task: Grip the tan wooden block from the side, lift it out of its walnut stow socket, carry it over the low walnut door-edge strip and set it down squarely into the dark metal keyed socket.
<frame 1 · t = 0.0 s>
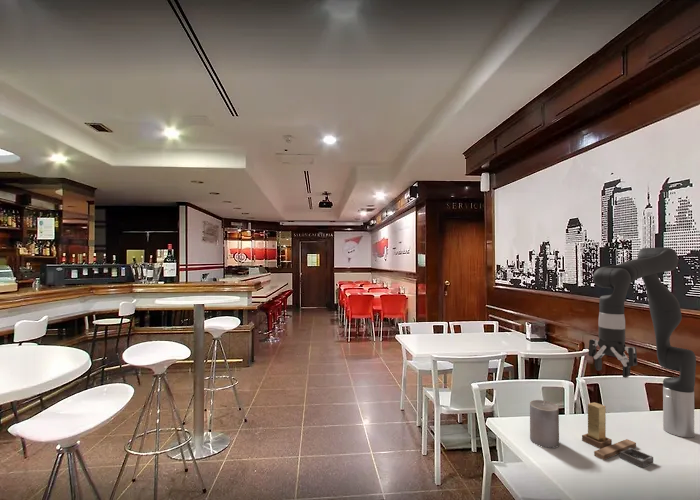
hand: (611, 373, 127), 29 cm above the table, tool pointing down, fingers open, 8 cm apart
pillar candle: (544, 442, 138), on the table
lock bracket: (615, 451, 132), on the table
tan wooden block: (596, 442, 137), resting in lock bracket
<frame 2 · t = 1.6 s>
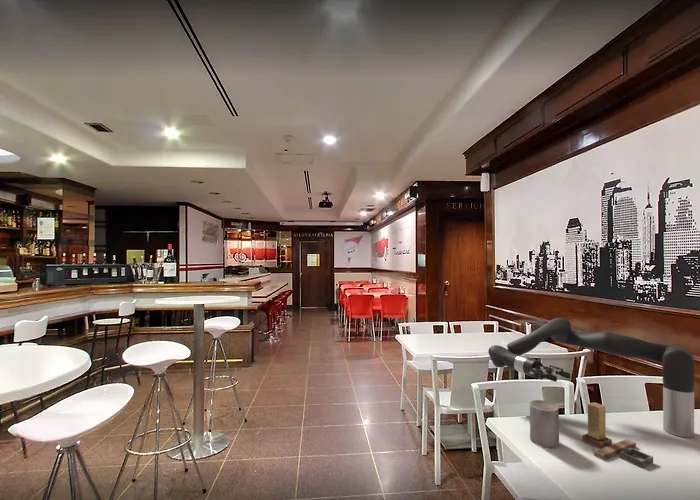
hand: (563, 377, 149), 20 cm above the table, tool horizontal, fingers open, 8 cm apart
nothing on the table moved.
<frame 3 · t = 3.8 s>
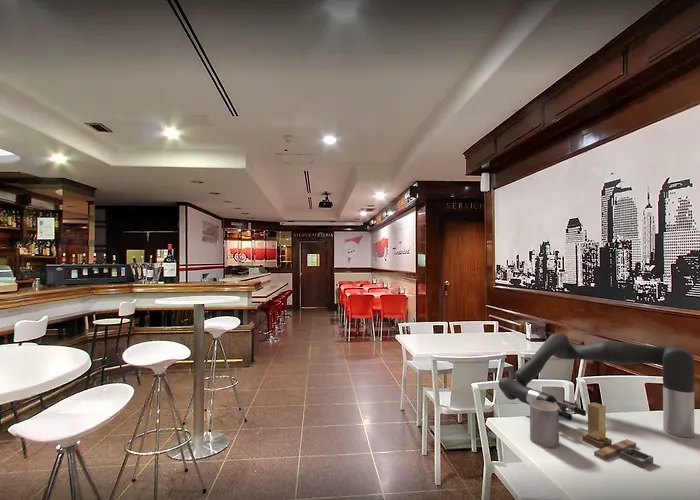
hand: (578, 415, 144), 7 cm above the table, tool horizontal, fingers open, 8 cm apart
nothing on the table moved.
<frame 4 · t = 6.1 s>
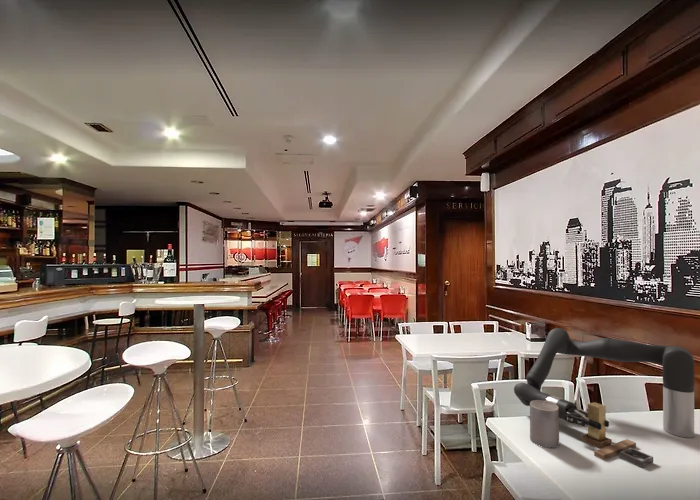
hand: (604, 425, 135), 8 cm above the table, tool horizontal, fingers closed on tan wooden block, 4 cm apart
tan wooden block: (596, 442, 137), resting in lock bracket, touching gripper
everything else where it was.
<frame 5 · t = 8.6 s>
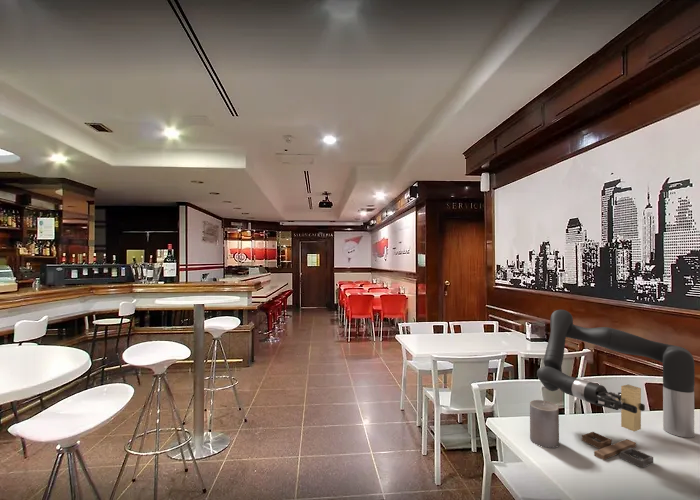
hand: (640, 409, 125), 18 cm above the table, tool horizontal, fingers closed on tan wooden block, 4 cm apart
tan wooden block: (630, 427, 127), point 10 cm above the table, touching gripper
everything else where it was.
when the fingers open (9 cm above the table, at t = 11.3 s): tan wooden block drops 1 cm, resting in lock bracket.
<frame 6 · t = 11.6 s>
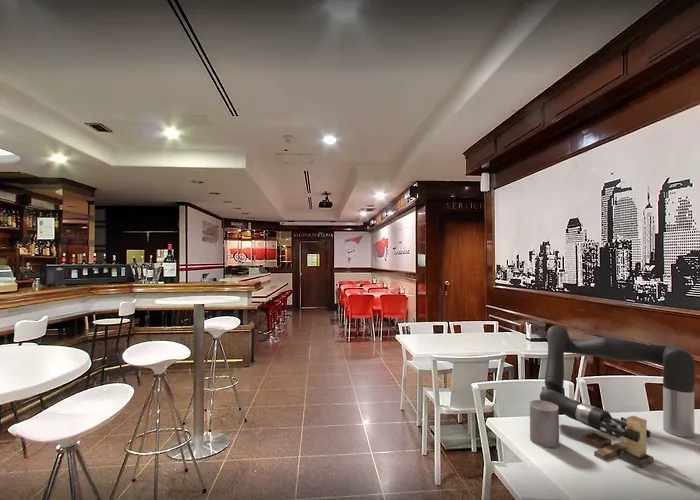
hand: (644, 436, 124), 9 cm above the table, tool horizontal, fingers open, 6 cm apart
tan wooden block: (636, 460, 126), resting in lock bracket
everything else where it was.
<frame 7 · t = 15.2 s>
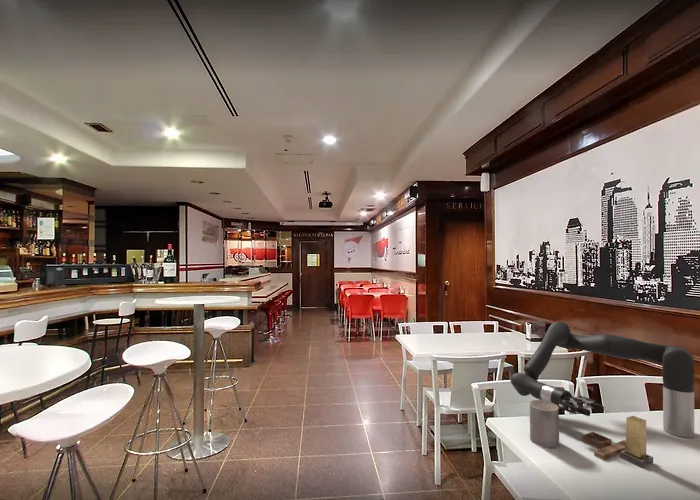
hand: (596, 411, 138), 12 cm above the table, tool horizontal, fingers open, 8 cm apart
nothing on the table moved.
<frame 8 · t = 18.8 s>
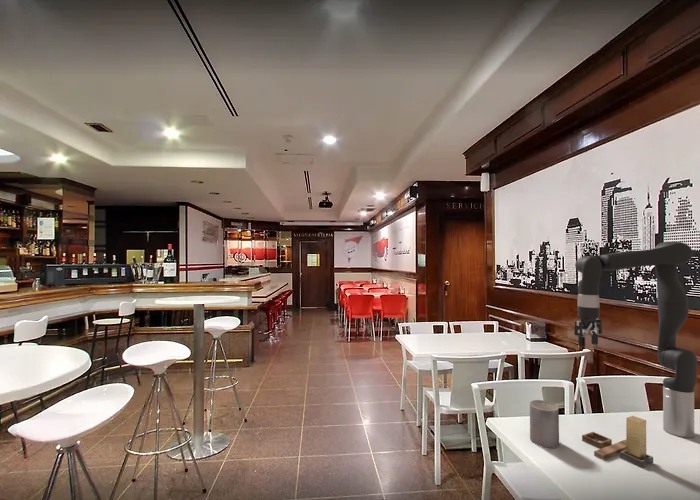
hand: (588, 345, 150), 33 cm above the table, tool pointing down, fingers open, 8 cm apart
nothing on the table moved.
at the end: tan wooden block 0.0 cm from the target spot on the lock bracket, point 0.0 cm above the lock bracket's base; tan wooden block tilted 0°; the gripper is holding nothing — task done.
